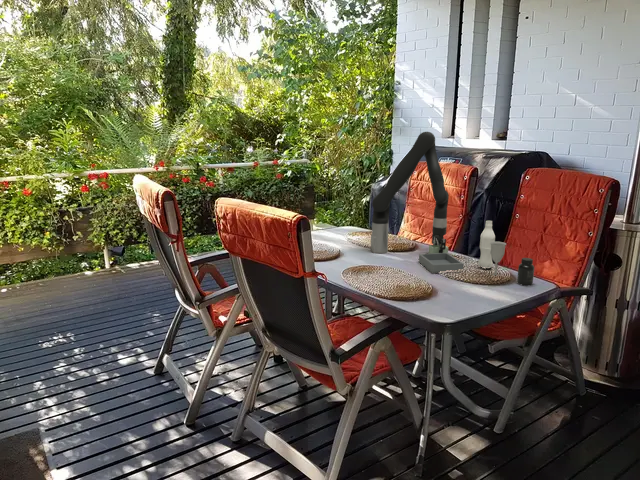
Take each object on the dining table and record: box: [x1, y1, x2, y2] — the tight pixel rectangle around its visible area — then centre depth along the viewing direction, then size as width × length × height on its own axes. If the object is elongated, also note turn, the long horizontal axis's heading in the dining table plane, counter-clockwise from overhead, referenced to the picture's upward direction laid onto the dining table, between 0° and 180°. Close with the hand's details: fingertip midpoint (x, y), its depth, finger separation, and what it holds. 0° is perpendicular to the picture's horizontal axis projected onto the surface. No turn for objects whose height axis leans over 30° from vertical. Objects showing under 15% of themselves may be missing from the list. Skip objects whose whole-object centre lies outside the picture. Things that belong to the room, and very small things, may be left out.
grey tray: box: [418, 252, 464, 275], centre depth 254 cm, size 16×20×4 cm
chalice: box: [490, 241, 507, 276], centre depth 233 cm, size 7×7×18 cm
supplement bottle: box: [516, 257, 535, 286], centre depth 228 cm, size 7×7×12 cm
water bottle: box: [477, 220, 496, 268], centre depth 249 cm, size 7×7×25 cm
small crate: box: [427, 244, 449, 254], centre depth 274 cm, size 9×6×6 cm, turn 99°
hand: (438, 254), depth 275 cm, fingers open, 7 cm apart
